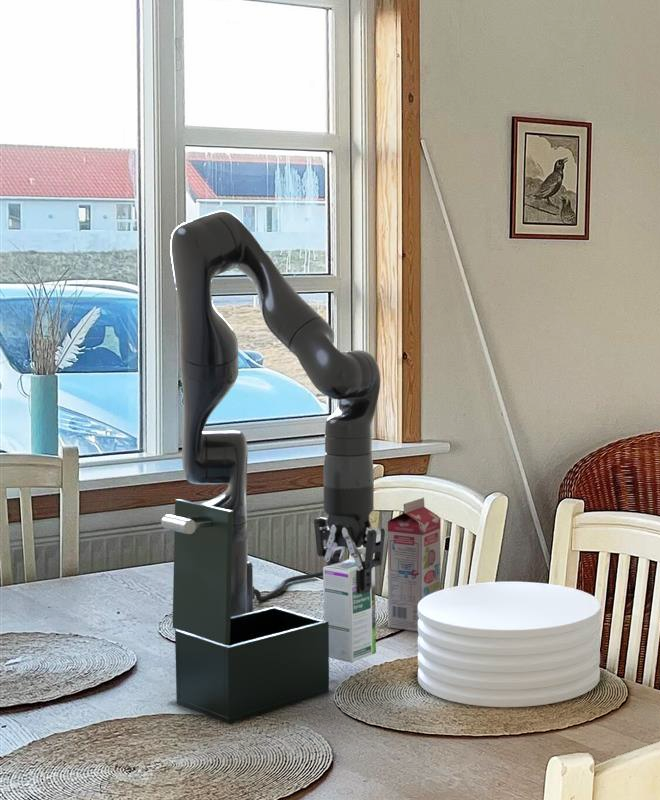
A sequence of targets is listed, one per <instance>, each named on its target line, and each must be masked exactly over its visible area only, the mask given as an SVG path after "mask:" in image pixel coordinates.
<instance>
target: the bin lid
mask: <svg viewBox="0 0 660 800" xmlns="http://www.w3.org/2000/svg"><path fill="white" fill-rule="evenodd" d="M160 525H161V527H162V528H164V529H165V530H170V531H174V534H173V535H174V537H173V580H172V581H173V583H172V585H173V586H172V628H173V629H174V630H175V629H176V630H181V631H184V632H187V633H190V634H193V635H196V636H200V637H203V638H206V639H209V640H212V641H215V642H218V643H221V644H224V645H228V644H230V623H231V581H232V539H233V511H231V510H227V509H222V508H218V507H213V506H209V505H204V504H201V503H199V502H194V501H190V500H186V499H181V498H177V499H174V515H173V514H165V515H163V516H162V518H161V520H160Z"/></svg>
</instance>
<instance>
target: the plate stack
mask: <svg viewBox="0 0 660 800" xmlns="http://www.w3.org/2000/svg"><path fill="white" fill-rule="evenodd" d="M601 614H602V605H601V602H600V601H599V599H598V598H597V597H596V596H594V595H592V594H590V593H589V592H586V591H583V590H580V589H577V588H573V587H569V586H564V585H558V584H553V583H552V584H551V583H545V582H532V581H489V582H488V581H487V582H476V583H469V584H461V585H455V586H451V587H448V588H443V589H440V591H437V592H434V593H431V594H429V595H427V596H426V597H424V598H423V599H422V600H421V601H420V602H419V603H418V617H419V620H418V631H417V633H418V635H417V650H418V652H417V665H418V669H417V682H418V684H419V686H420V687H421V688H422V689H423V690H424V691H425V692H427V693H429V694H431V695H433V696H434V697H438V698H439V699H443V700H446V701H449V702H452V703H453V702H454V703H458V704H463V705H469V706H478V707H487V708H489V707H490V708H524V707H525V708H527V707H535V706H536V707H537V706H544V705H551V704H556V703H561V702H565V701H568V700H572V699H575V698H578V697H581V696H582V695H585V694H587V693H588V692H590V691H592V690H593V689H595V688H596V687H597V686H598V684H599V682H600V680H601V668H600V664H601V651H600V648H601V634H600V633H601V631H602V630H601V629H602V627H601V625H602V622H601V618H600V617H601Z"/></svg>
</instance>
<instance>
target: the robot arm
mask: <svg viewBox="0 0 660 800" xmlns="http://www.w3.org/2000/svg"><path fill="white" fill-rule="evenodd" d="M170 258H171V264H172V272H173V277H174V285H175V290H176V291H175V292H176V298H177V306H178V320H179V321H178V322H179V359H180V361H179V362H180V376H181V389H182V390H181V391H182V404H183V417H182V420H183V421H182V446H181V448H182V449H181V450H182V451H181V452H182V453H181V454H182V455H181V459H182V460H181V463H182V470H183V476H184V478H185V479H186V481H187V482H188V483H190V484H192V485H228V486H227V488H226V490H224V491H223V492H222V493H221V494H219V495H217V496H216V497H214V498H212V499H208V500H206V501H204V502H203V501H202V502H201V503H200V504H204V505H209V506H213V507H218V508H222V509H227V510H231V511H233V539H232V581H231V617H234V616H238V615H242V614H246V613H250V612H254V600H255V599H256V600H257V601H259V602H264V601H266V600H267V601H268V600H269V599H272V598H273V597H275V596H276V595H278V594H279V593H281V592H282V591H283V590H284V589H285V588H286V585H288V584H290V583H292V582H296V581H302V580H308V579H309V580H310V579H314V578H318V577H323V570H322V571H319V572H314V573H313V572H312V573H308V574H301V575H295V576H291V577H287V578H286V579H284V580H282V582H281V583H280V586H278V587H277V588H275V589H274V590H271V592H269V593H267V594H265V595H263V596H261V592H260V590H259V589H256V588H255V586H254V577H253V576H254V572H253V566H254V565H253V563H252V562H251V561H248V559H249V558H248V509H247V508H248V507H247V480H248V479H247V478H248V454H249V453H248V452H249V451H248V443H247V442H248V441H247V438H246V435H245V434H244V433H243V432H242V431H239V430H215V431H214V430H211V431H210V430H209V431H204V429H205V426H207V422H208V419H209V418H210V417H211V415H212V413H213V412H214V411H215V410H216V408H217V407H218V406H219V405H220V404H221V402H222V401H223V400H224V398H226V396H227V395H228V394H229V392H231V390H232V388H233V387H234V385H235V383H236V381H237V379H238V376H239V342H238V338H237V336H236V333H235V331H234V330H233V328H232V327H231V325H230V324H229V323H228V322H227V321H226V320H225V318H224V317H223V316H222V315H221V314H220V313H219V312H218V310H217V309H216V308H215V306H214V303H213V298H212V281H213V279H214V277H216V276H218V275H220V274H223V273H225V272H228V271H230V270H233V269H235V268H236V269H238V270H239V271H241V272H242V273H243V274H244V275H245V276H246V277H247V278H248V279H249V280H250V281H251V282H252V284H253V285H254V288H255V291H256V294H257V298H258V304H259V309H260V312H261V316H262V319H263V320H264V323H265V325H266V327H267V328H268V330H269V331H270V332H271V333H272V334H273V336H274V337H275V338H276V339H277V340H278V341H279V342H280V343H282V345H284V347H286V348H287V350H288V351H289V352H290V353H292V354H293V355H294V356H295V357H296V358H297V361H298V362H299V364H300V366H301V367H302V369H303V370H304V372H305V374H306V376H307V377H308V379H309V380H310V382H311V383H312V385H313V386H314V388H316V389H317V390H318V391H319V392H320V393H321V394H323V395H324V396H326V397H327V398H330V399H332V400H336V401H337V400H338V405H337V409H336V410H335V412H333V413H332V414H331V415H329V417H327V418H326V420H325V425H324V461H323V511H324V513H325V514H327V515H328V516H327V515H326V516H321V517H317V518H314V520H313V526H314V527H313V528H314V535H315V545H316V546H315V547H316V553H317V554H316V555H317V556H318V557H322V558H324V561H325V563H326V566H330V565H333V564H336V563H340V562H343V561H342V558H343V555H344V553H345V550H346V549H348V553H349V554H350V556H351V557H352V558H353V560H355V563H356V566H357V569H358V570H356V584H357V593H359V594H364V593H368V592H369V591H370V589H371V586H372V583H371V582H372V580H371V579H372V568H373V567H375V568H376V567H379V566H382V563H383V555H384V544H385V536H386V535H385V534H386V531H385V529H384V528H383V527H379V528H376V527H374V526H372V523H371V521H370V514H371V513H372V512H373V511H374V510H375V509H374V508H375V507H374V505H375V504H374V503H375V502H374V499H375V498H374V497H375V496H374V494H375V493H374V486H375V485H374V481H375V480H374V461H373V460H374V459H373V452H372V451H373V449H372V448H373V447H372V446H373V445H372V444H373V442H372V441H373V440H372V439H373V437H372V434H373V433H372V425H373V421H374V418H375V417H374V416H375V413H376V410H377V406H378V400H379V396H380V390H381V378H382V377H381V370H380V367H379V364H378V362H377V360H376V358H375V357H374V356H373V355H372V354H371V353H369V352H368V351H365V350H361V349H359V350H358V349H356V350H349V351H340V350H339V349H338V348H336V346H335V345H334V341H335V331H334V329H333V328H332V326H331V325H330V324H329V322H327V321H326V320H325V319H324V318H323V317H322V316H321V315H320V314H319V313H318V312H317V311H316V310H315V309H314V308H313V307H312V306H311V305H309V304H308V302H306V301H305V299H304V298H302V296H300V295H299V293H297V291H296V290H295V289H294V288H293V286H291V284H290V283H289V282H288V280H287V279H286V278H285V277H284V275H283V274H282V272H281V271H280V270H279V269H278V267H277V266H276V264H275V263H274V261H273V260H272V259H271V257H270V256H269V255H268V253H267V252H266V251H265V249H264V248H263V247H262V245H261V244H260V243H259V242H258V240H257V239H256V238H255V236H254V235H253V233H252V232H251V230H249V228H248V227H247V226H246V225H245V224H244V223H243V222H242V221H241V219H240V218H238V217H237V216H236V215H235V214H233V213H231V212H229V211H227V210H218V211H214V212H211V213H208V214H205V215H203V216H200V217H197V218H194V219H191V220H189V221H188V220H187V221H186V222H183V223H181V224H180V225H178V226H177V227H175V229H174V230H173V232H172V234H171V239H170ZM324 541H325V545H324ZM361 547H362V548H361ZM362 556H363V557H364V558H363V557H362ZM363 559H364V560H363Z"/></svg>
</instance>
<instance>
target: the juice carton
mask: <svg viewBox="0 0 660 800" xmlns="http://www.w3.org/2000/svg"><path fill="white" fill-rule="evenodd" d="M441 520H442V519H441V517H440V516H439V515H438V514H436V513H435V512H433V511H431V510H430V509H429V508H427V507H425V497H424V496H423V497H422V498H417V499H415V500H412V501H408V502H406V503H403V513H401V514H399V515H397V516H395V517H393V518H390V520H388V521H387V628H391V629H399V630H400V629H401V630H407V631H414V632H418V620H419V617H418V603H419V602H420V601H421V600H422V599H423V598H424V597H426V596H427V595H429V594H431V593H434V592H437V591H440V590H441V548H442V547H441V539H442V538H441V537H442V536H441V534H442V533H441V531H442V530H441V523H442V522H441Z"/></svg>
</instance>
